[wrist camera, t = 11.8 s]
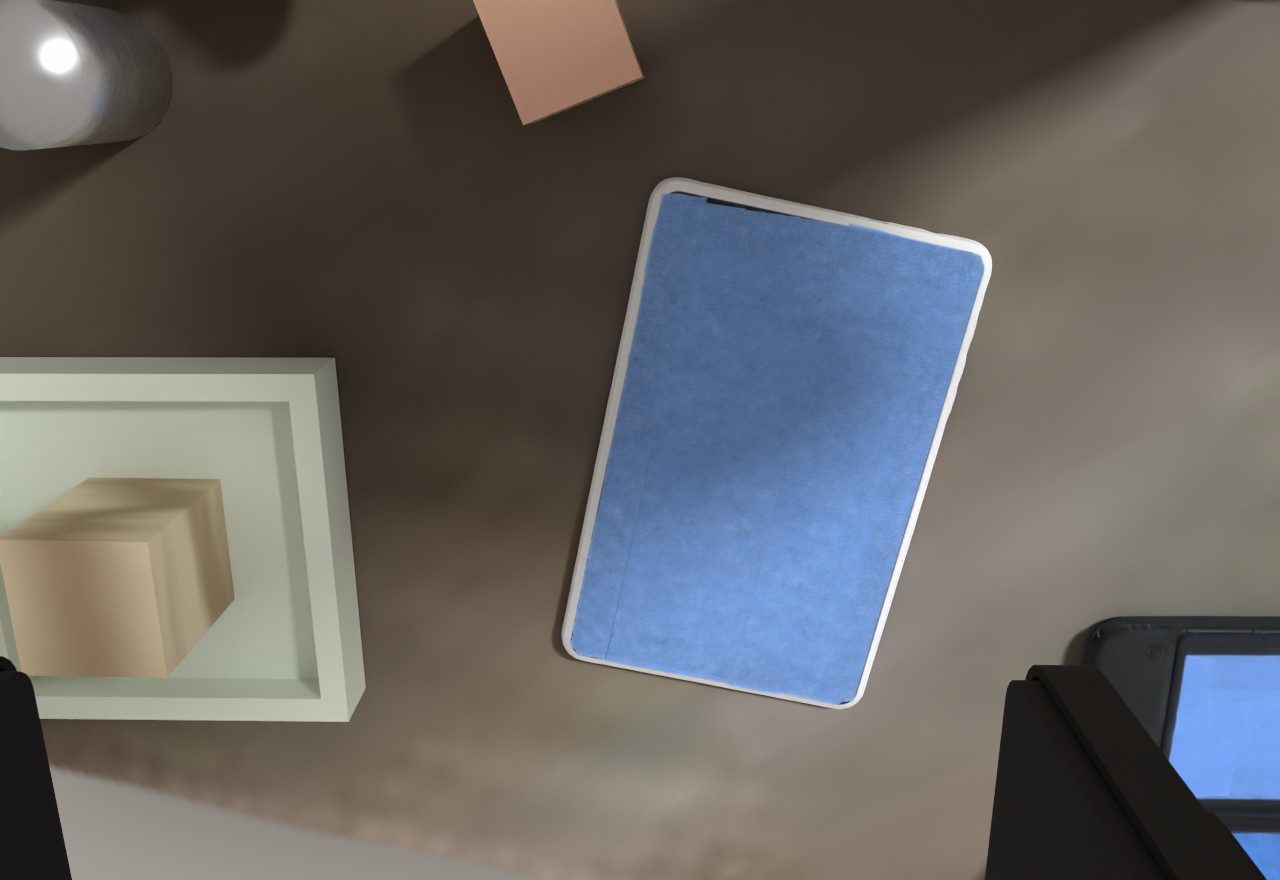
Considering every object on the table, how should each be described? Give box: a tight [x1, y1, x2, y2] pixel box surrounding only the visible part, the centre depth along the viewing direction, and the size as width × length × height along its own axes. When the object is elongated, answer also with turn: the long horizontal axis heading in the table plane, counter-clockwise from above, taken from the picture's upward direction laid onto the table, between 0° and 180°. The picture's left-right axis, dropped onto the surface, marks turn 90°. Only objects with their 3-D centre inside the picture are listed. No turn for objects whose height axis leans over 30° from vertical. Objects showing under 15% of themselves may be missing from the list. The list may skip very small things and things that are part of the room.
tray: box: [0, 357, 366, 722], centre depth 41 cm, size 14×14×2 cm
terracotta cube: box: [473, 0, 644, 125], centre depth 35 cm, size 4×4×4 cm
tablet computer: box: [561, 177, 992, 709], centre depth 41 cm, size 19×13×1 cm, turn 168°
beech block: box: [0, 477, 235, 678], centre depth 39 cm, size 5×5×6 cm
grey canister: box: [0, 0, 172, 150], centre depth 35 cm, size 4×4×6 cm
